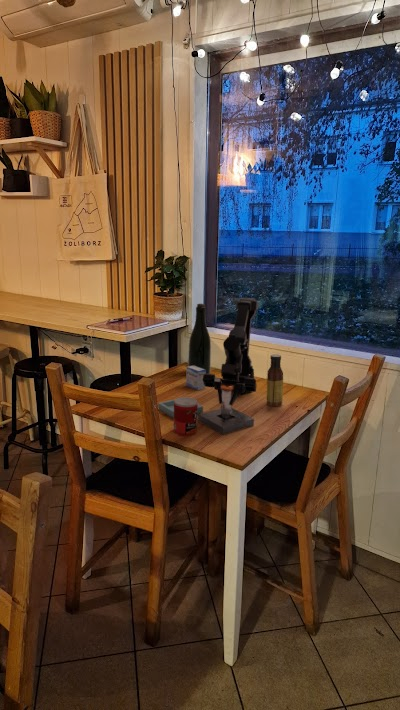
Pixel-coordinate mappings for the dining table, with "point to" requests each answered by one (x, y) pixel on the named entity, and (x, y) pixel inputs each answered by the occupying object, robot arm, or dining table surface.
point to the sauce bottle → (275, 382)
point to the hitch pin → (226, 400)
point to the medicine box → (195, 377)
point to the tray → (169, 408)
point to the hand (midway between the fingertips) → (225, 404)
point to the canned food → (185, 416)
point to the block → (225, 421)
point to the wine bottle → (200, 342)
